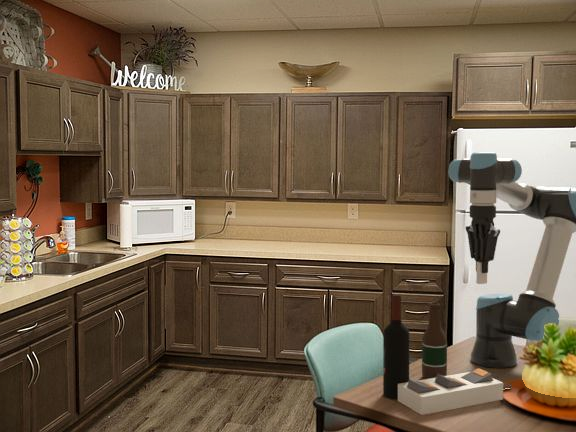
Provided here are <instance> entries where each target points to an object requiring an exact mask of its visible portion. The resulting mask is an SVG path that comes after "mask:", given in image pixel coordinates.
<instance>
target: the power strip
mask: <svg viewBox="0 0 576 432" xmlns="http://www.w3.org/2000/svg"><path fill="white" fill-rule="evenodd" d="M470 372H471V371H469V372H468V371H467V372H461V373H455V374H449V375H447V376H445V377H448V378H449V377H450V378H453V379H455V380H458V381H460V382H462V383H464V385H465V386H459V387H454V388H448V387H446V386H444V385H442V384H440V383H438V382H436V381H435V379H436V378H430V379H425V378H424V379H420V380H417V381H420V382H426V383H429V384H431V385H433V386H435V387H437V389H439V390H437V391H431V392H425V393H418V392H416V391H414V390H412V389H410V388H408V387H407V385H408V382H406V383H400V384H398V400H397V402H399V403H400V404H401V405H402V404H403V405H404V406H405V407H408V408H409V409H411V411H412V410H413V411H414V412H416V413H417V414H419V415H421V416H424V415H431V414H434V413H441V412H446V411H450V410H455V409H461V408H465V407H472V406H477V405H482V404H488V403H491V402H492V403H493V402H498V401H502V400H504V391H503V389H505V388H511V387H512V388H513V386H512V384H506V385H505V384H504V382H502V381H500V380H498V379H496V378H493V377H492V378H493V381H488V382H482V383H476V384H474V383H471V382H469V381H467V380H465V379H463V378H462V376H464V375H466V374H468V373H470Z"/></svg>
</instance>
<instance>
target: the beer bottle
mask: <svg viewBox="0 0 576 432" xmlns="http://www.w3.org/2000/svg"><path fill="white" fill-rule="evenodd" d="M428 307H429V313H428V325H427V328H426V329H425V331H424V333H423V335H422V340H421V376H422V377H423V378H424V379H430V378H436V376H437V374H439V375H442V376H448V375H447V374H448V373H447V370H448V362H447V361H448V339H447V336H446V333H445V331H444V330H443V327H442V324H441V323H442V322H441V319H442V318H441V307H442V306H441V303H439V302H435V301H434V302H430V303H429V304H428Z"/></svg>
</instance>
